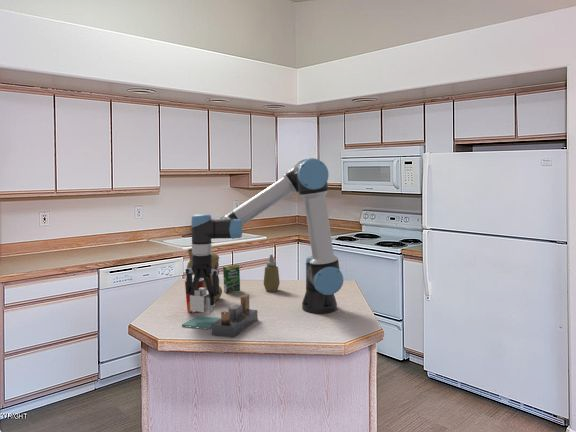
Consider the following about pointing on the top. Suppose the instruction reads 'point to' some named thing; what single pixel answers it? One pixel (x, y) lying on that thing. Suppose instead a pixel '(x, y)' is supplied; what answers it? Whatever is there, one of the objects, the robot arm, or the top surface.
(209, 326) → the rubber mat
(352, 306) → the top surface
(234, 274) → the coffee box
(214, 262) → the ceramic vessel
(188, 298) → the coffee cup
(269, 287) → the squeeze bottle
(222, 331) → the hand plane
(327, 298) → the robot arm
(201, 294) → the lever cap
